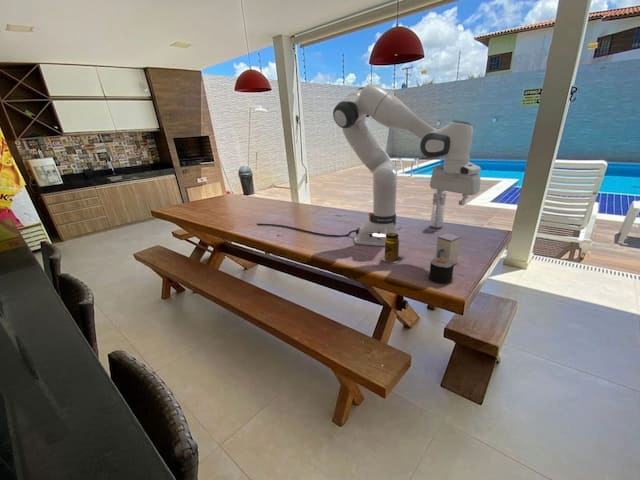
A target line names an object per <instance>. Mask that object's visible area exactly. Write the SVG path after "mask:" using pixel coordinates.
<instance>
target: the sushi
mask: <svg viewBox="0 0 640 480" xmlns="http://www.w3.org/2000/svg"><path fill="white" fill-rule="evenodd" d="M454 267H455V264H454V261H453V260H452V261H451V260H449V259H444V258H436V257H433V258H432V259H431V260H430V267H429V276H428V278H429V280H431V281H432V282H434V283H437V284H443V285H444V284H448V283H450V282H451V281H452V280H453V273H454Z"/></svg>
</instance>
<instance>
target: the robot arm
mask: <svg viewBox="0 0 640 480" xmlns="http://www.w3.org/2000/svg"><path fill="white" fill-rule="evenodd" d="M332 116H333V120H334V122H335V124H336V125H337V126H338V127H340V128H341V129H342V133H343V135H344V137H345V139H346V141H347V143H348V144H349V146H350V147H351V149H352V150H353V152H354V153H355V155H356V156H357V158H358V159H359V160H360V162H361V163H362V164H363V165H364V166H365V167H366V168H367V169H368V171H370V173H371V174H372V198H373V201H372V202H373V205H372V206H373V207H372V208H373V209H372V210H373V211H372V212H371V211H370V212H368V221H367V222H365V223H364V224H362V225H361V226H360V227H358V228H357V229H354V230H350V231H349V232H348V233H347V234H328V233H327V234H326V233H320V232H315V231H311V230H306V229H303V228H298V227H294V226H289V225H284V224H283V225H282V224H274V223H256V226H271V227H281V228H287V229H291V230H295V231H300V232H304V233H308V234H313V235H319V236H324V237H334V238H342V237H349V236H350V235H351V233H355V236H354V239H353V242H354V243H355V244H356V245H362V246H363V245H365V246H375V247H385V240H386V234H388V233H396V234H397V229H396V224H397V213H396V207H397V179H398V168H397V166H396V164H395V162H394V161H393V160H392V159H391V157H390V156H389V155H388V153H387V152H386V151H385V150H384V148H383V147H382V145H380V143H379V142H378V140H377V138H376V137H375V135H374V134H373V133H372V131H371V130H370V128H369V127H368V125H367V123H366V118H370V117H371V118H372V119H373V120H374V121H375V122H377V123H378V124H380V125H382V126H384V127H387V128H389V129H397V130H404V131H406V132H409V133H411V134H412V135H414V136H415V137H417V138H418V139H420V144H419V148H420V149H419V150H420V152H421V154H422V155H423V156H424V157H425V158H429V159H436V158H439V157H444V160H443V161H444V162H443V165H437V164H436V165H435V166H433V168H432V172H431V177H430V182H429V187H430V189H431V190H434V189H437V193H438V196H439V201H444V197H445V196H443V194H442V192H443V190H444V191H446V192H450V193H455V194H462V195H461V196H462V198H461V199H460V200H459V201H458V205H459V206H464V205H465V204H466V200H467V199H468V198H469V196H475V195H477V194H478V193H480V188H481V176H480V173H481V171H482V168H481V167H480V166H479V165H476V164H475V163H473V162H470V157H471V156H470V151H471V148H472V145H473V135H474V130H473V129H474V128H473V125H472V124H471V123H470V122H468V121H464V120H452V121H450V122H449V123H448V124H446V125H444V126H442V127H440V128H438V127H435V126H433V125H431V124H430V123H429V122H427V121H426V120H424V119H422V118H421V117H420V116H418V115H417V114H416V113H414V112H413V111H412V110H411V109H410V108H409V107H408V106H406V105H405V104H404V103H403V102H402V101H401V99H399V98H398V97H396V95H394V94H393V93H391V92H389V90H386V89H385V88H383V87H381V86H379V85H377V84H374V83H369V84H366V85H365V86H362V87H359V88H358V89H356V90H354V91H352V92H351V93H350V94H348V95H347V96H346V97H344V98H343V99H342V100H341V101H339V102H338V103H337V104H336V105H335V106H334V108H333V111H332Z"/></svg>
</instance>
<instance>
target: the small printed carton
mask: <svg viewBox="0 0 640 480" xmlns="http://www.w3.org/2000/svg"><path fill="white" fill-rule="evenodd" d="M436 241H437V242H436V249H435V250H436V251H435V258H444V259H449V260H451V261H452V260H453V261H454V265H455V264H457V263H458V257H459V251H460V250H459V249H460V242H461V236H460V235H459V236H458V235H455V234H451V233H448V232H447V233H444V234H442V235H439V236H437V240H436Z"/></svg>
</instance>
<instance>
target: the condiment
mask: <svg viewBox="0 0 640 480" xmlns="http://www.w3.org/2000/svg"><path fill="white" fill-rule="evenodd" d="M399 249H400V240H399V234H398V233H397V232H396V233H388V234H386V240H385V246H384V257H383V258H381V260H380V261H384V262H388V263H392V264H397V263H398V262H400V261H401V260H403V258H404V256H402V255H399V252H400V251H399Z"/></svg>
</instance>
